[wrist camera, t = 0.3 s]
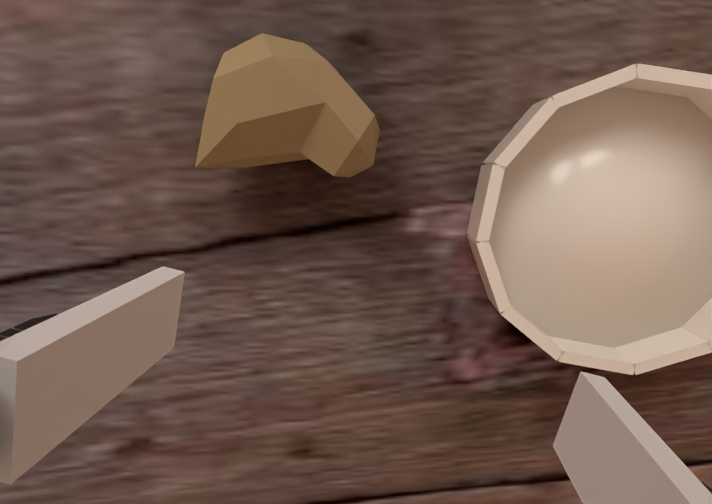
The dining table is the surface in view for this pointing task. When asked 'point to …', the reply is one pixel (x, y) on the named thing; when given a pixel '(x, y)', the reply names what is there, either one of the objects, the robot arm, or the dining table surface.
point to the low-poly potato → (285, 111)
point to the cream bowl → (604, 221)
